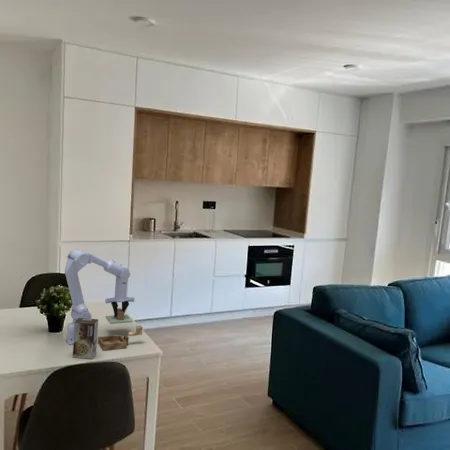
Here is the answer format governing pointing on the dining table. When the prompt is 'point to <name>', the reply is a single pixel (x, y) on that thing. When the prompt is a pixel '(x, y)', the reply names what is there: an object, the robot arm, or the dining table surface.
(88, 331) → the cookie box
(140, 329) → the mallet
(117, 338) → the toolbox
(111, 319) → the toolbox lid
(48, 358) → the dining table surface
